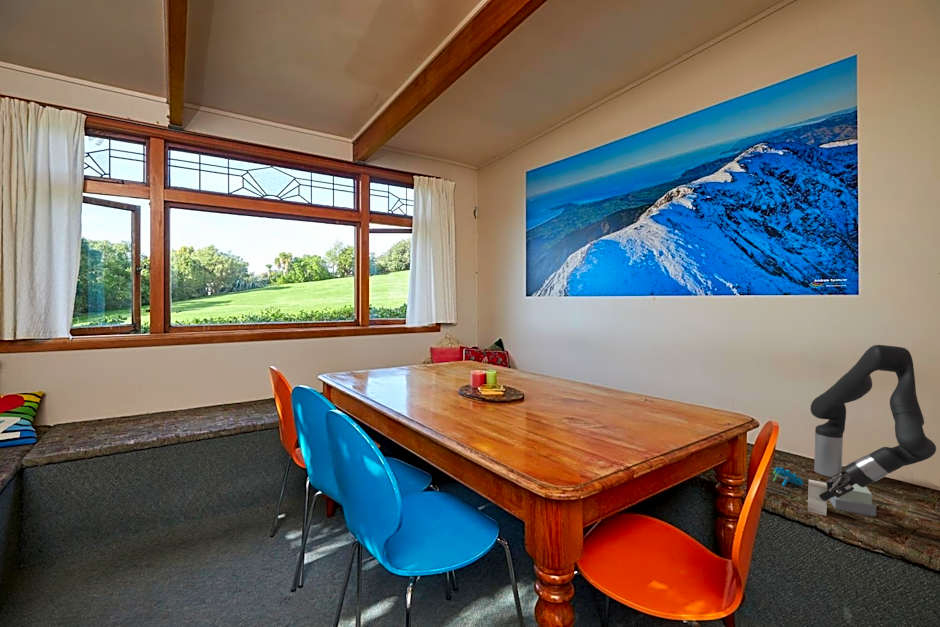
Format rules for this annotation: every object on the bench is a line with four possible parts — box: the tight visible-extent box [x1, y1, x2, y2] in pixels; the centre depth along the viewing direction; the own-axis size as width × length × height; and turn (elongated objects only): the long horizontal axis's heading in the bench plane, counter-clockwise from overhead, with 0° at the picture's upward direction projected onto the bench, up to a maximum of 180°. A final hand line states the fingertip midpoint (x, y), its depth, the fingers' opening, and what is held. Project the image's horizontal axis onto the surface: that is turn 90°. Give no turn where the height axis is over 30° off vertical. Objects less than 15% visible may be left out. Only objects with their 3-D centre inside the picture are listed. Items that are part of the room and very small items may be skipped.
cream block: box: [807, 479, 828, 517], centre depth 150 cm, size 5×5×10 cm
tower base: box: [828, 496, 877, 517], centre depth 154 cm, size 11×11×4 cm
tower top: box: [836, 484, 873, 505], centre depth 154 cm, size 9×9×4 cm
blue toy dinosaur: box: [772, 466, 805, 487], centre depth 172 cm, size 11×6×10 cm
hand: (820, 494), depth 150 cm, fingers open, 8 cm apart
